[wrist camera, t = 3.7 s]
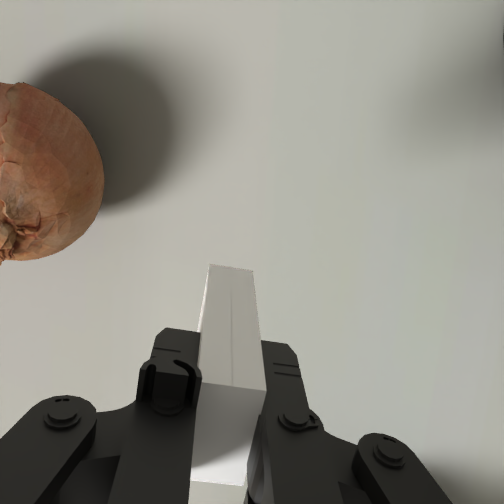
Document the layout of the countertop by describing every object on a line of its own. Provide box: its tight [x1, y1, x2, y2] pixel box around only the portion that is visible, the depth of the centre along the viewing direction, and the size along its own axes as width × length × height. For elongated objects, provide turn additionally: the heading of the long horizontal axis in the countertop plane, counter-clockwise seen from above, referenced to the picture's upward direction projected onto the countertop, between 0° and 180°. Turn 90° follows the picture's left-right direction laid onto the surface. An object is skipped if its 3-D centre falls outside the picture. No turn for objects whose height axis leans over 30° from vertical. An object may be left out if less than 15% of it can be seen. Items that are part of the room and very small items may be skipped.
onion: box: [0, 82, 105, 265], centre depth 26 cm, size 10×9×10 cm
